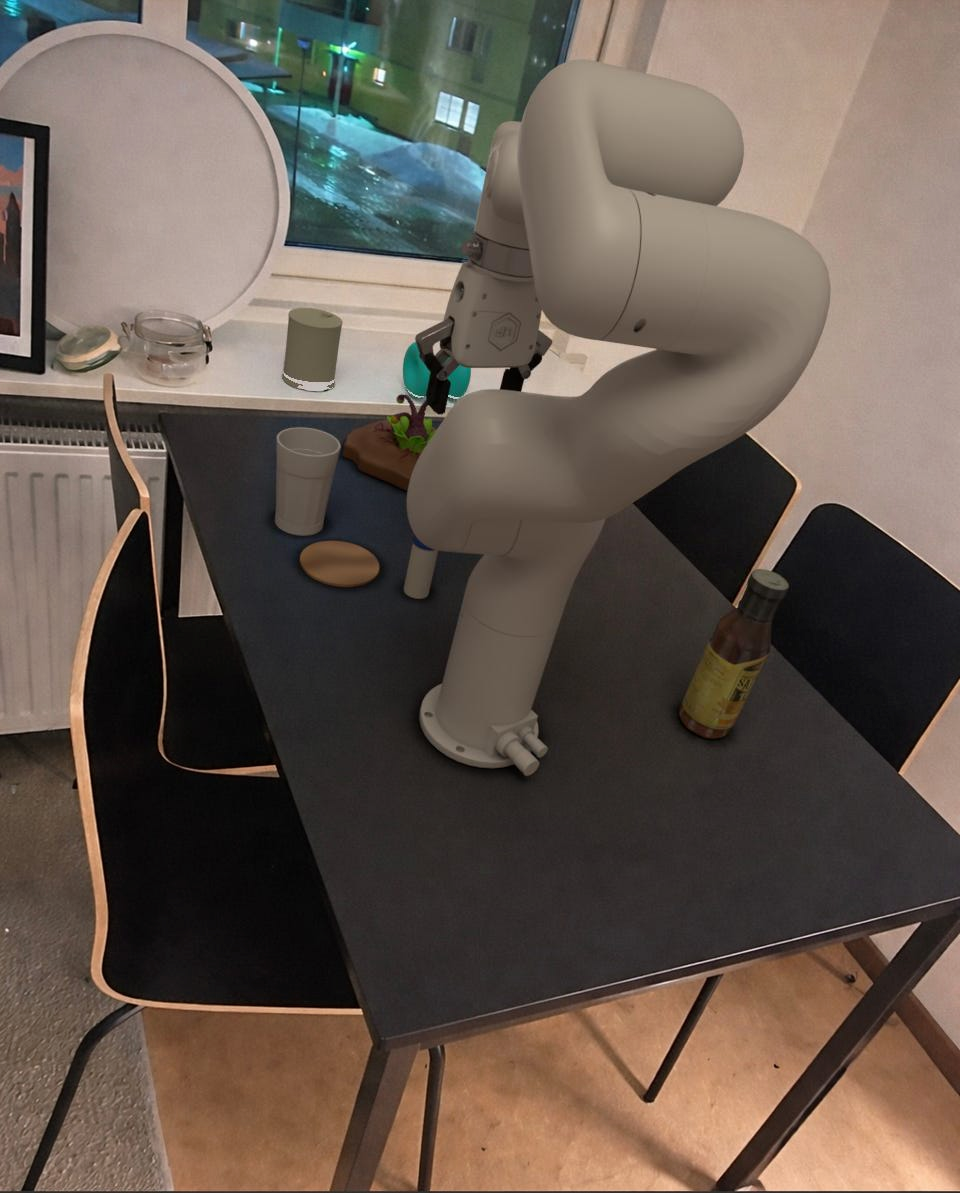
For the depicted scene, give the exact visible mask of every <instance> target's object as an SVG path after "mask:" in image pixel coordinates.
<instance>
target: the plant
mask: <svg viewBox="0 0 960 1193" xmlns="http://www.w3.org/2000/svg"><path fill="white" fill-rule="evenodd" d="M405 400H406V401H407V403H408V404H409V405H408V406H409V409H410V412H406V411H402V412H397V413H395V414H392V415H391V416H389V415H387V416H386V419H382V420H376V421H372V422H369V423H368V424H365V425H364V426H361V427H358V428H354V429H352V430H350V432H349V433H348V434H346V436H345V438H344V444H343V448H342V457H343V458H344V459H347V460H349V461H352V462H353V463H354V464H355V465H356V466H357V469H358V471H360V472H361V473H364V474H366V475H369V476H371V477H373V478H376V479H378V480H380V481H383V482H385V483H387V484H390V485H391V486H394V487H397V488H398V489H401V490H403V491H405V492H406V493H407V492H408V486H409V482H410V478H411V475H412V472H413V469H414V467H415V465H416V462H417V460H418V458H419V457H420V455H421V453H422V451H423V450H424V448H425V447H426V445H427V444H428V442H429V441H430V439H431V438H432V436H433V435H434V433H435V432H436V430H437V429H438V428H436V427H434V426H433V420H432V418H425V415H426V411H427V407H429V405H428V404H427V402H426V400H424V402H422V404H421V405H420V407H419V409H418V411H417V407H416V405H415V403H414V401H413V399H412V398H411V397H410V396H409V394H408V395H407V394H402V393H400V394H398V395H397V396H396V402H397V404H404V402H405ZM432 411H433V412H434V413H436V412H435V411H434V410H433V409H432Z"/></svg>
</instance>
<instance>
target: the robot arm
mask: <svg viewBox="0 0 960 1193" xmlns="http://www.w3.org/2000/svg"><path fill="white" fill-rule="evenodd" d="M743 138H744V137H743V131H742V129H741V127H740V124H739V120H738V119H737V117H736V116H735V114H734V112H733V111H732V110H731V109H730V108H729V106H728V105H727V104H726V103H725V102H724V101H723V100H721V99H720V98H719V97H718V96H717V95H715V94H713V93H712V92H709V91H708V90H705V89H703V88H701V87H699V86H697V85H695V84H690V83H687V82H683V81H679V80H674V79H671V78H667V77H663V76H659V75H655V74H651V73H646V72H642V71H638V70H634V69H630V68H625V67H623V66H617V65H615V64H609V63H606V62H601V61H595V60H591V59H572V60H568V61H565V62H563V63H560V64H559V65H557V66H556V67H554V68H553V69H551V70H550V71H549V72H547V74H546V75H545V76H544V77H543V78H542V79H541V80H540V81H539V83H537V85H536V86H535V88H534V89H533V92H532V94H531V95H530V97H529V99H528V102H527V103H526V107H525V109H524V112H523V115H522V119H521V121H514V120H509V121H504V122H503V123H501V124H499V125H498V127H497V128H496V130H495V131H494V133H493V137H492V141H491V145H490V150H489V156H488V159H487V160H488V161H487V165H486V171H485V175H484V180H483V185H482V190H481V195H480V199H479V204H478V209H477V214H476V219H475V222H474V223H475V224H474V229H473V232H472V235H471V240H469V241H463V242H462V243H461V247H460V250H461V255H462V256H467V258H468V259H467V261H463V262H462V264H461V266H460V268H459V270H458V273H457V275H456V278H455V281H454V284H453V286H452V289H451V291H450V295H449V298H448V301H447V305H446V308H445V312H444V316H443V320H442V321H440V322H438V323H436V324H435V325H432V326H430V327H429V328H427V329H425V330H422V331H420V332H419V333H417V334H416V335H415V337H414V340H415V342H416V344H417V347H418V351H419V353H420V354H419V357H420V359H421V360H422V361H423V363H424V364H425V365H426V367H427V369H428V370H429V371H430V377H429V382H428V387H427V393H426V397H425V401H426V402H427V404H428V407H429V408H430V409H431V410H432V411H433V410H434V411H435V412H434V411H433V412H434V413H436V414H437V415H444V414H445V413H446V409H447V405H448V400H449V398H448V395H449V390H450V386H451V382H450V381H449V380H448V379H447V378H448V377H449V375H450V374H451V373H452V372H453V371H454V370H455V369H456V368H457V367H458V366H459V365H461V366H463V367H467V368H471V369H504V371H503V374H502V378H501V382H500V387H499V389H498V388H494V389H493V388H491V389H490V388H489V389H480V390H475V391H472V392H470V393H467V394H464V395H463V396H462V397H461V398H459V399H457V401H456V402H455V404H454V405H453V406H452V407H451V409H450V410H448V412H447V414H446V415H445V417H444V419H443V420H442V421H441V423H440V424H439V426H438V427H437V428H436V429H437V430H436V432H435V433H434V435H433V436H432V438H431V439H430V441H429V442H428V444H427V445H426V447H425V448H424V450H423V451H422V453H421V455H420V457H419V458H418V460H417V462H416V465H415V467H414V469H413V472H412V475H411V478H410V482H409V486H408V492H407V491H406V515H407V520H408V524H409V526H410V528H411V530H412V532H413V535H414V534H415V536H416V537H417V538H418V540H419V541H420V542H421V543H423V544H424V545H425V546H427V547H429V548H431V549H434V550H438V552H439V551H440V552H447V553H458V554H470V555H472V554H473V555H483V556H482V557H481V558H480V559H479V560H478V561H477V563H476V564H475V566H474V568H473V569H472V571H471V573H470V575H469V577H468V580H467V583H466V586H465V590H464V594H463V599H462V603H461V605H460V606H461V607H460V611H459V614H458V617H457V618H458V619H457V623H456V627H455V630H454V634H453V638H452V642H451V647H450V650H449V654H448V659H447V663H446V667H445V671H444V675H443V679H442V683H440V684H437V685H436V686H435V687H433V688H431V690H429V691H428V692H427V693H426V694H425V696H424V698H423V699H422V701H421V705H420V708H419V715H418V719H419V725H420V728H421V731H422V732H423V735H424V737H426V739H427V740H428V741H429V743H430V744H431V745H432V746H433V747H434V748H436V750H438V751H439V752H441V753H442V754H443V755H445V756H446V757H448V758H450V759H452V760H454V761H455V762H458V763H460V764H461V763H462V764H464V765H466V766H470V767H477V768H481V769H482V768H483V769H499V768H506V767H511V766H513V765H514V766H515V767H516V768H517V769H518V770H519V771H520V772H521V773H522V774H523V775H524V776H526V777H528V776H531V775H533V774H534V773H535V772H536V771H537V770H538V768H539V767H540V761H539V760H538V759H537V758H540V759H541V758H542V757H544V756H545V755H547V753H548V750H549V747H548V746H547V745H545V743H544V742H543V741H541V739H539V738H538V737H539V732H540V730H539V723H538V717H539V715H538V714H537V713H536V712H535V711H534V710H533V705H534V702H535V699H536V696H537V692H538V690H539V686H540V685H541V684H540V683H541V680H542V678H543V674H544V671H545V668H546V665H547V663H548V659H549V656H550V653H551V650H552V647H553V644H554V641H555V638H556V634H557V632H558V628H559V626H560V623H561V619H562V617H563V614H564V611H565V607H566V605H567V602H568V600H569V597H570V594H571V592H572V588H573V586H574V585H575V581H576V579H577V576H578V575H579V573H580V570H581V569H582V566H583V565H584V563H585V561H586V559H587V558H588V557H589V555H590V553H591V551H592V549H593V548H594V547H595V545H596V542H597V541H598V539H599V537H600V535H601V533H602V530H603V528H604V525H605V522H606V519H607V518H610V517H612V516H615V515H616V514H617V513H620V512H621V511H623V510H624V509H626V508H628V507H629V506H630V505H632V504H633V503H635V502H636V501H638V500H640V499H641V498H642V497H644V496H645V495H647V494H649V493H650V492H652V491H653V490H654V489H656V488H657V487H659V486H660V485H662V484H663V483H665V482H667V481H668V480H669V479H670V478H671V477H673V476H674V475H675V474H678V473H679V472H680V471H682V470H683V469H685V468H686V467H688V466H690V465H692V464H694V463H696V462H697V461H700V460H701V459H702V458H705V457H707V456H709V455H710V454H713V453H714V452H716V451H718V450H721V449H722V448H724V447H725V446H727V445H729V444H730V443H732V442H735V441H736V440H737V439H739V438H741V437H742V436H744V435H745V434H747V433H748V432H749V431H751V430H753V429H754V428H755V427H756V426H758V425H759V424H760V423H762V422H763V421H764V420H765V419H766V418H768V416H769V415H770V414H771V413H773V412H774V411H775V410H776V409H777V408H778V406H779V405H780V404H781V403H782V402H783V401H784V400H785V399H786V398H787V396H788V395H789V394H790V392H791V391H792V389H793V388H795V386H796V384H797V383H798V381H799V380H800V378H801V377H802V375H803V374H804V373H805V370H806V368H807V367H808V365H809V363H810V361H811V360H812V358H813V355H814V353H815V351H816V350H817V347H818V345H819V342H820V340H821V337H822V334H823V332H824V328H825V326H826V322H827V318H828V314H829V309H830V306H831V304H830V303H831V286H832V285H831V280H830V272H829V270H828V269H829V268H828V266H827V264H826V263H825V262H826V261H825V260H824V258H823V256H822V254H821V253H820V251H819V250H817V248H816V247H815V246H814V245H813V244H812V243H811V242H810V241H809V239H807V238H806V237H804V236H803V235H801V234H800V233H798V232H796V231H795V230H793V229H792V228H790V227H788V226H786V225H784V224H781V223H779V222H777V221H774V220H772V219H769V218H766V217H763V216H761V215H757V214H754V213H749V212H745V211H743V210H742V211H741V210H737V209H733V208H726V207H722V206H719V205H720V204H721V203H722V202H723V201H724V200H725V199H726V198H727V196H728V195H729V194H730V192H731V191H732V190H733V189H734V186H735V185H736V183H737V181H738V179H739V177H740V174H741V172H742V167H743V164H744V157H745V143H744V139H743ZM542 312H543V314H544V316H545V318H546V319H547V320H548V322H550V323H551V324H552V325H553V326H555V327H556V328H557V329H558V330H560V331H562V332H564V333H566V334H568V335H571V336H574V337H578V338H581V339H587V340H592V341H599V342H607V343H613V344H619V345H620V344H621V345H626V346H632V347H639V348H646V349H647V348H648V349H653V350H651V351H648V352H645V353H642V354H639V355H635V356H634V357H631V358H629V359H626V360H625V361H623V362H620V363H619V364H617V365H615V366H613V367H612V368H611V369H609V370H608V371H606V372H605V373H603V374H602V375H601V376H600V377H599V378H598V379H597V380H596V381H595V382H594V383H593V384H592V385H591V386H590V387H589V389H587V390H586V391H585V392H583V394H581V395H576V396H567V395H566V396H565V395H551V394H543V393H538V392H537V393H536V392H528V391H527V392H526V391H522V390H523V387H524V383H525V380H528V379H529V378H530V377H531V375H532V371H534V370H535V368H537V367H538V366H539V365H540V364H541V363H542V361H543V357H545V355H546V354H547V352H548V351H549V349H550V348H551V346H552V345H553V339H552V338H550V337H549V336H548V335H546V334H545V333H544V332H542V331H541V330H540V325H541V319H542ZM437 343H439V348H440V349H439V350H438V351H437V352H436V353H434V346H435V345H436V344H437ZM449 357H450V358H449ZM448 358H449V359H448ZM447 359H448V360H447ZM446 360H447V361H446ZM445 361H446V363H445V364H444V365H443V366H442V364H443V363H444V362H445ZM533 754H534V755H535V756H536V757H537V758H536V757H535V756H534V755H533Z"/></svg>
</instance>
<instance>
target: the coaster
mask: <svg viewBox="0 0 960 1193" xmlns="http://www.w3.org/2000/svg"><path fill="white" fill-rule="evenodd" d="M299 564H300V565H299V566H300V567H301V569H302V570H303V572H304V573H305V574H307V576H309V577H310V578H312V579H314V580H315V581H317V582H319V583H321V584H325V585H328V586H331V587H332V586H333V587H338V588H357V587H360V586H365V585H367V584H369V583H371V582H373V581H374V580H376V578H377V577H378V575H379V572H380V563H379V561H378V559H377V557H376V556H375V554H373V553H372V552H370V550H368V549H366V548H364V547H362V546H360V545H358V544H355V543H352V542H347V541H341V540H323V541H318V542H314V543H311V544H310V545H308V546H306V547H305V548H303V549H302V551H301V553H300V555H299Z"/></svg>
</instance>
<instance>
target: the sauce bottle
mask: <svg viewBox="0 0 960 1193" xmlns="http://www.w3.org/2000/svg"><path fill="white" fill-rule="evenodd" d="M789 586H790V585H789V583H788V581H787V580H786V578H784V577H782V575H780V574H779V573H776V572H774V571H772V570H769V569H763V568H756V569H753V570H752V571H751V573H750V575H749V577H748V579H747V583H746V588H745V590H744V592H743V594H742V596H741V598H740V600H739V601H738V603H737V607H735V608H734V609H732V610H730V611H729V612H727V613H726V614H725V615H724V616H722V617H721V618H720V619H719V621H718V622H717V624H716V626H715V629H714V631H713V634H712V636H711V638H709V640H708V641H707V644H706V647H705V649H704V651H703V653H702V655H701V658H700V660H699V662H698V664H697V666H696V669H695V671H694V674H693V676H692V678H691V680H690V683H689V684H688V687H687V689H686V691H685V694H684V695H683V698H682V703H681V705H680V707H679V711H678V713H679V718H680V721H681V723H682V724H683V726H685V728H686V729H687V730H689V731H691V732H692V733H694V734H696V736H699V737H702V738H705V739H711V740H712V739H714V740H715V739H716V740H717V739H721V738H723V737H726V736H727V734H728V733H729V732H730V731H731V729H732V727H733V726H734V725H735V723H736V722H737V719H738V717H739V716H740V713H741V711H742V709H743V707H744V705H745V703H746V701H747V699H748V697H749V695H750V693H751V691H752V689H753V687H754V685H755V683H756V681H757V678H758V677H759V674H760V672H761V671H762V669H763V667H764V664H765V663H766V660H767V658H768V656H769V654H770V652H771V643H772V627H773V619H774V618H775V615H776V613H777V609H778V607H779V605H780V603H781V601H782V600H783V599H785V597H786V595H787V592H788V590H789V588H790V587H789Z"/></svg>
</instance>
